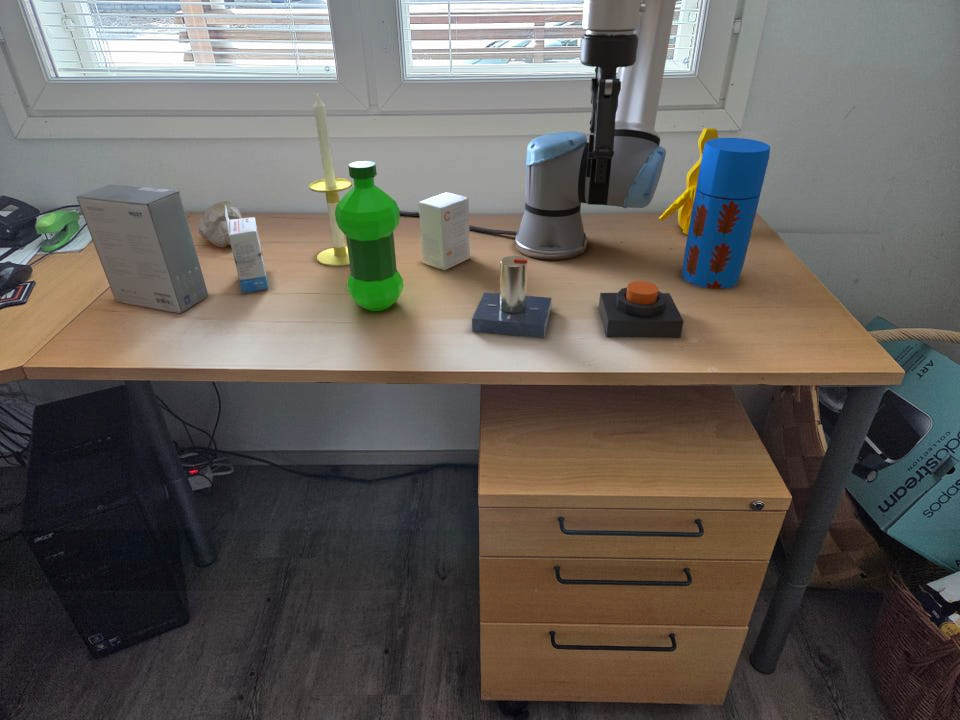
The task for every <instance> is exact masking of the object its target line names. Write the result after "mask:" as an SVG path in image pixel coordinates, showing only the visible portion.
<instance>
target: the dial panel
mask: <svg viewBox="0 0 960 720" xmlns="http://www.w3.org/2000/svg"><path fill="white" fill-rule="evenodd" d="M551 310H552V297H546V296H545V297H544V296H534V295H526V309H525V310H524V311H523V312H520V313H506V312H504V311H502V310H501V309H500V292H489V291H488V292H486V291H484V292H483V293H482V296H481V298H480V300H479V302H478V304H477V307H476V309H475V311H474V313H473V316H472V317H471V331H472V332H473V333H485V334H494V335H505V336H514V337H527V338H535V339H536V338H537V339H545V335H546V330H547V327H548V323H549V320H550V319H549V318H550V315H551Z"/></svg>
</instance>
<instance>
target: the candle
mask: <svg viewBox="0 0 960 720" xmlns="http://www.w3.org/2000/svg"><path fill="white" fill-rule="evenodd" d="M313 111H314V119H315V126H316V132H317V138H318V146H319V152H320V160H321V166H322V174H323V178H322V179H318V180H314V181H312V182H310V183H309V184H308V189H309V190H310V191H312V192H314V193H315V192H316V193H324V194H325V198H326V199H325V200H326V207H327V214H328V219H329V227H330V232H331V239H332V247H330V248H327V249H325V250H322V251H320V252H319V253H318V254H317V255H316V262H318V264H320V265H323V266H328V267H346V266H350V262H349V255H348V247H347V245H346V239H345V234H344V233H343V232H342V231H341V230H340V229H339V228H338V225H337V222H336V218H335V210H336V206H337V204H338V203H339V202H340V196H339V192H344V191H346V190H350V189H351V188H352V186H353V181H352V180H350V179H347V178H341V177H336V176H335V175H336V174H335V168H334V167H335V166H334V161H333V160H334V159H333V153H332V146H331V137H330V131H329V123H328V117H327V110H326V105H325V103H324V102H323V101H322V99H321V97H320V94H319V91H318V90H316V97H315V103H314V104H313Z"/></svg>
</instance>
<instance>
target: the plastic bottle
mask: <svg viewBox="0 0 960 720" xmlns="http://www.w3.org/2000/svg"><path fill="white" fill-rule="evenodd" d="M348 173H349V177H350V178H351V179H353V187H351V188H350V189H349V190H348V192H347V193H346V194H345V195H344V196H343V197H342V198H341V199H340V200H339V203H338V204H337V206H336V210H335V218H336V222H337V225H338V228H339V229H340V230H341V231H342V232H343V233H344V236H345V238H346V239H345V241H346V246H347V247H348V255H349V262H350V265H349V269H350V274H349V277H348V278H347V283H346V288H347V292H348V294H349V295H350V297H351V298H352V299H353V301H354V303H356V304H357V305H358V306H360V307H362V308H364V309H365V310H367V311H371V312H380V311H385V310H387V309H389V308H391V306H393V304H394V303H396V302H397V301H398V299H399V297H400V296H401V294H402V292H403V289H404V279H403V277H402V275H401V273H400V272H399V271H398V269H397V258H396V257H397V256H396V247H395V234H394V231H395V230H396V228H397V227H398V226H399V224H400V219H401V218H400V216H401V214H399V210H400V208H399V205H398V204H397V201H396V200H395V199H394V198H393V197H391V196H390V195H389V194H388V193H386V192H385V191H384V190H382V189H381V187H379V186H377V185H375V177H376V176H377V175H378V173H377V164H376V162H374V161H371V160H357V161H353V162H350V163H349V164H348Z"/></svg>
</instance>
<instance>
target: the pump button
mask: <svg viewBox="0 0 960 720" xmlns="http://www.w3.org/2000/svg"><path fill="white" fill-rule="evenodd" d="M626 287H627V293H626V299H627V300H629V301H630V302H633V303H637V304H652V303H655V302H656V301H657V296H658V291H660V290H659V286H658V285H656V284H655V283H653V282H651V281H645V280H635V281H631V282H629V283H628V284H627V286H626Z"/></svg>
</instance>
